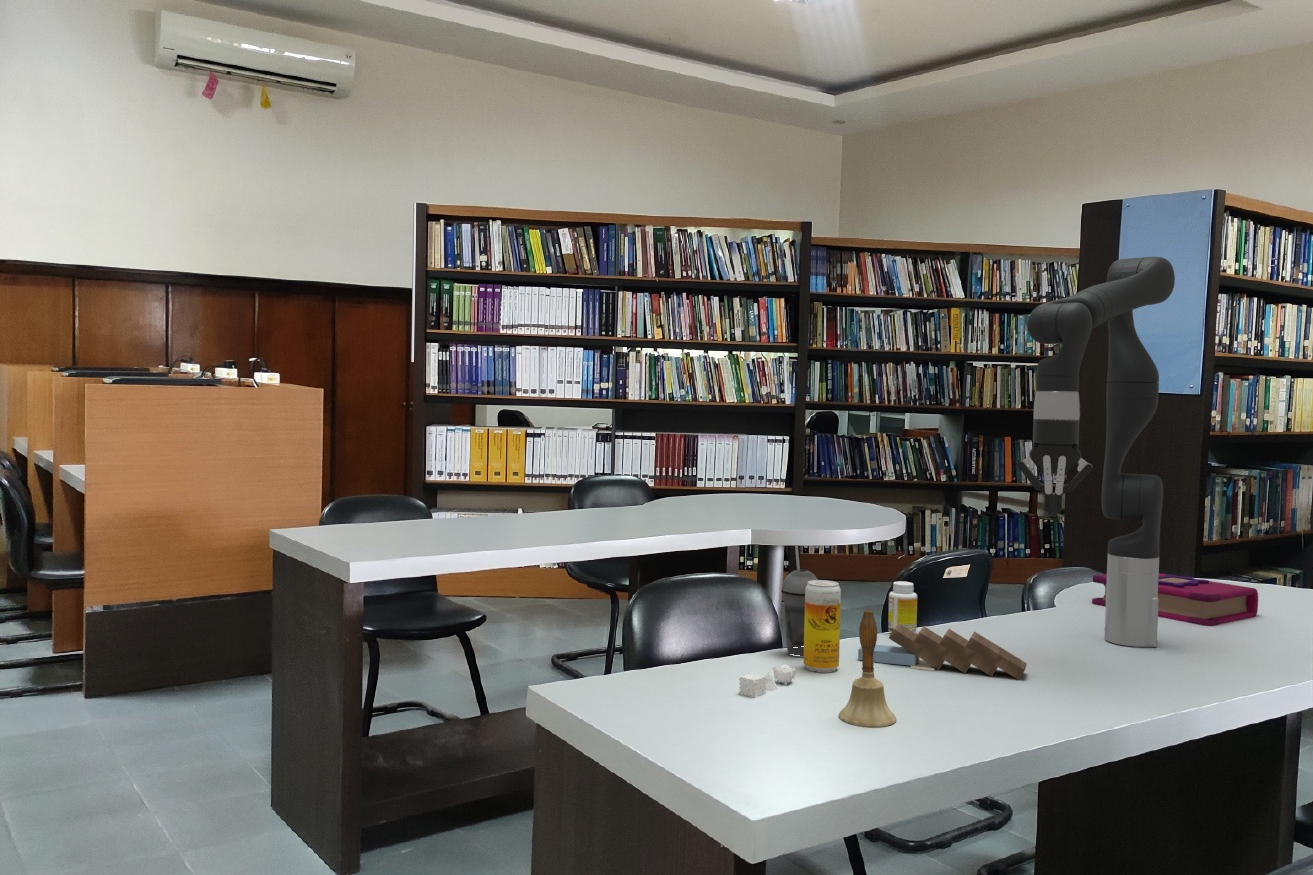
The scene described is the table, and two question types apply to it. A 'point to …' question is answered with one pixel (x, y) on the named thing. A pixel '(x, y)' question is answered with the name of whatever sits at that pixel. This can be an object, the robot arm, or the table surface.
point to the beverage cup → (795, 606)
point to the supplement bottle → (902, 606)
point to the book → (1198, 600)
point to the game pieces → (765, 681)
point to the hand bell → (867, 685)
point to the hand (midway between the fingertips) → (1053, 515)
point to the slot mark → (923, 665)
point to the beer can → (822, 625)
